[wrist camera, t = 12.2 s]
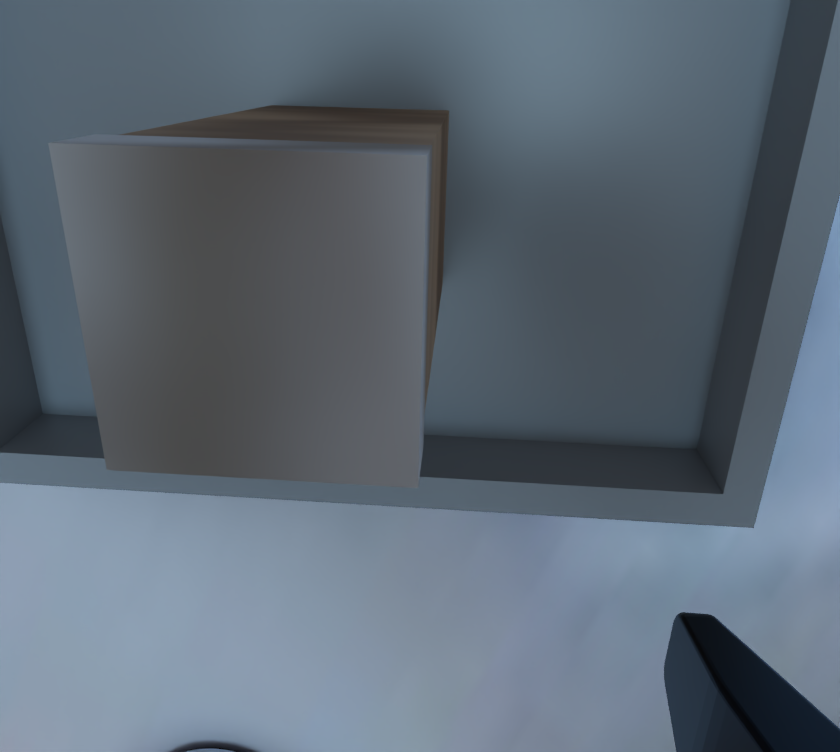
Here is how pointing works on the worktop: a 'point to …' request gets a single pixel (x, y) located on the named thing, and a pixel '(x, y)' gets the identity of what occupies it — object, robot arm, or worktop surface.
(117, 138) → the brown rectangular block
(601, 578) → the worktop surface
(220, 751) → the supplement bottle
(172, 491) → the tray
